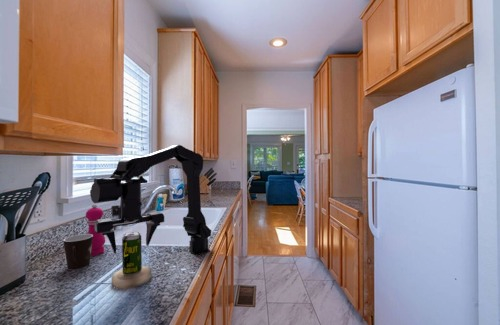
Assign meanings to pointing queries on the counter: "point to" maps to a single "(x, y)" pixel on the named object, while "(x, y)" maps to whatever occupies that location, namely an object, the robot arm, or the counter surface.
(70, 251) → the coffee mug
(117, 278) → the plate
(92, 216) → the pepper mill
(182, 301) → the counter surface
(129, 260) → the beer can
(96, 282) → the counter surface
